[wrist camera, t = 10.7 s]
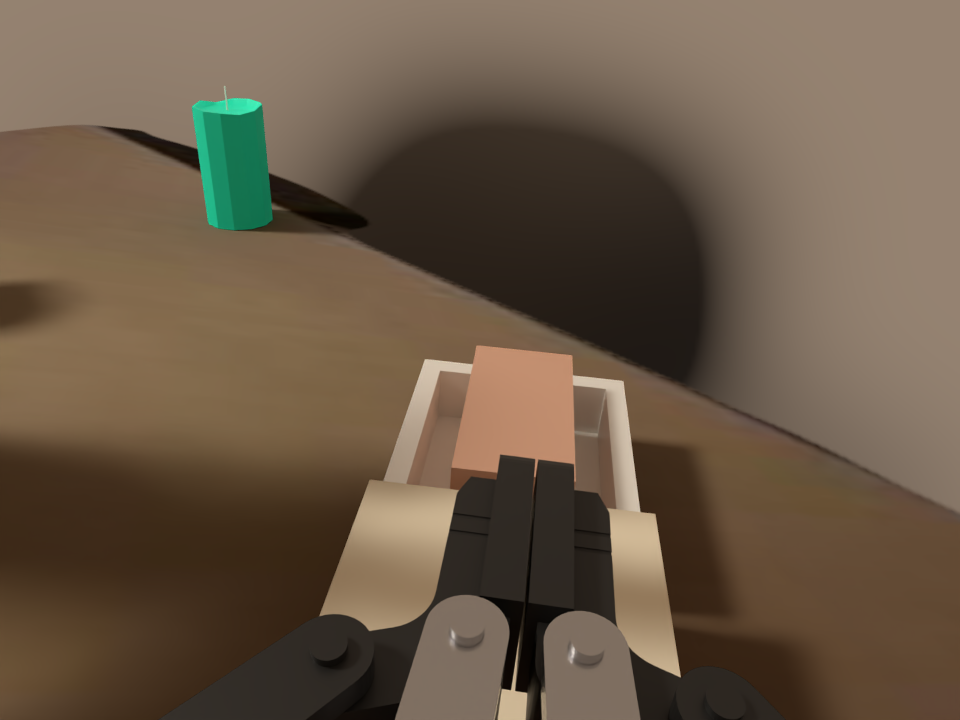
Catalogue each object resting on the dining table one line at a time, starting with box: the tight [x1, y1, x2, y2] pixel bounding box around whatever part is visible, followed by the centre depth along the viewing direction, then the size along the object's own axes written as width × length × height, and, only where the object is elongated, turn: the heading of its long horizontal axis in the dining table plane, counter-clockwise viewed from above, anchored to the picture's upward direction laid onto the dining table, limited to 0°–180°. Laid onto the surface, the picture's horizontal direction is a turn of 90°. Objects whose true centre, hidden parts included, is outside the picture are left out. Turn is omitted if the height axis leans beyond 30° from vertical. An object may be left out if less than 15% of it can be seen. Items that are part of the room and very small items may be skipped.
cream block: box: [320, 480, 681, 720], centre depth 24 cm, size 10×11×6 cm
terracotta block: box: [450, 346, 576, 498], centre depth 33 cm, size 5×5×10 cm
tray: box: [383, 359, 640, 512], centre depth 34 cm, size 12×11×4 cm
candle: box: [192, 86, 273, 230], centre depth 63 cm, size 6×6×12 cm
